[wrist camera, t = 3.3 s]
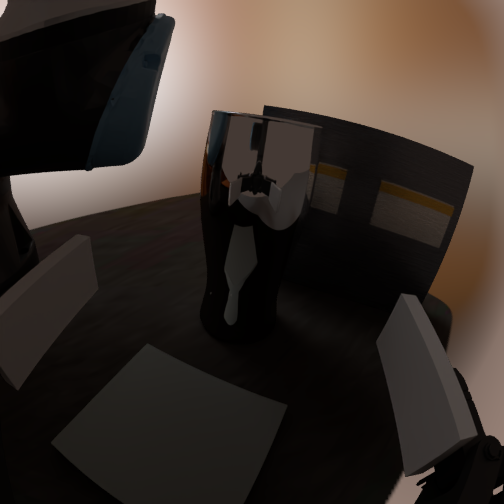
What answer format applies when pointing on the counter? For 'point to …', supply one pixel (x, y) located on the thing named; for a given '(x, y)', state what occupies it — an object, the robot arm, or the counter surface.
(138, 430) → the rubber mat
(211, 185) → the beer glass
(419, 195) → the label panel
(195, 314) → the counter surface
